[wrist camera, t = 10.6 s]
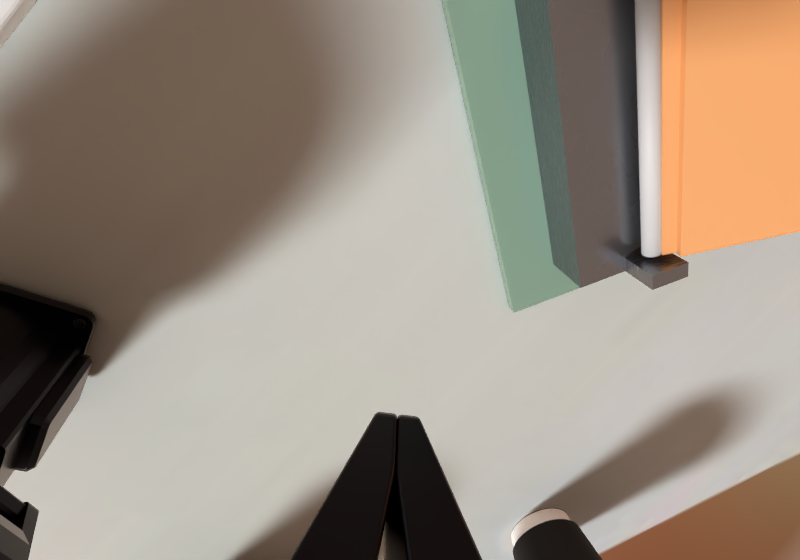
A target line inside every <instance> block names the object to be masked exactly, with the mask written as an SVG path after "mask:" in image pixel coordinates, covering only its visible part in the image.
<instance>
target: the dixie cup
mask: <svg viewBox="0 0 800 560" xmlns="http://www.w3.org/2000/svg"><path fill="white" fill-rule="evenodd" d="M511 539H512V543H513V546H514V548H513V555H514V559H515V560H602V559H601V557H600V556H599V554H598V553H597V552H596V550H595V549H594V547H593V546H592V545H591V543H590V542H589V540H588V539H587V537H586V536H585V535H584V533H583V532H582V530H581V529H580V528H579V526H578V525H577V524H576V523H575V522H573V521H571V520H570V518H569V517H568V515H567V514H566V513H565V512H564V511H562V510H560V509H544V510H540V511H537V512H534V513H532V514H530V515H528V516H526V517H525V518H523V519H522V520H521V521H520V522H519V523H518V524H517V525H516V526H515V527H514V529H513V531H512V534H511Z"/></svg>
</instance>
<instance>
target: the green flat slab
mask: <svg viewBox="0 0 800 560" xmlns="http://www.w3.org/2000/svg"><path fill="white" fill-rule="evenodd" d="M442 4H443V8H444V13H445V17H446V22H447V26H448V31H449V36H450V40H451V45H452V49H453V54H454V58H455V63H456V67H457V72H458V77H459V81H460V86H461V90H462V95H463V99H464V104H465V108H466V113H467V117H468V122H469V127H470V131H471V136H472V140H473V145H474V149H475V154H476V158H477V163H478V168H479V172H480V177H481V181H482V186H483V190H484V195H485V199H486V204H487V208H488V213H489V218H490V222H491V227H492V231H493V236H494V240H495V245H496V249H497V254H498V259H499V263H500V268H501V272H502V277H503V281H504V286H505V290H506V295H507V299H508V304H509V307H510V309H511V310H512V311H513V312H517V311H520V310H522V309H525V308H528V307H530V306H533V305H535V304H538V303H541V302H543V301H546V300H549V299H551V298H554V297H557V296H559V295H562V294H565V293H567V292H570V291H572V290H575V289H578V288H580V287H579V286H578V285H577V284H575V283H574V282H573V281H572V280H571V279H570V278H569V277H567V276H566V275H565V274H564V273H563V272H562V271H560V270H559V269H558V268H557V267H556V266H555V265H554V264H553V259H552V252H551V245H550V238H549V232H548V225H547V218H546V211H545V204H544V198H543V191H542V184H541V177H540V170H539V164H538V157H537V150H536V143H535V136H534V129H533V123H532V116H531V109H530V102H529V95H528V89H527V82H526V75H525V68H524V61H523V55H522V48H521V41H520V34H519V27H518V21H517V14H516V7H515V0H442Z"/></svg>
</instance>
